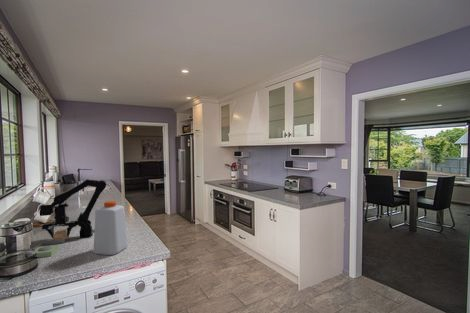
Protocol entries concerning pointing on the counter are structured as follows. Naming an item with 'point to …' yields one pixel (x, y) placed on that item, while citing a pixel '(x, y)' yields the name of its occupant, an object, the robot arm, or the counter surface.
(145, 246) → the counter surface
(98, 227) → the plastic bottle
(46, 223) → the robot arm
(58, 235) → the brown cardboard carton
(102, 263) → the counter surface
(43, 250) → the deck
